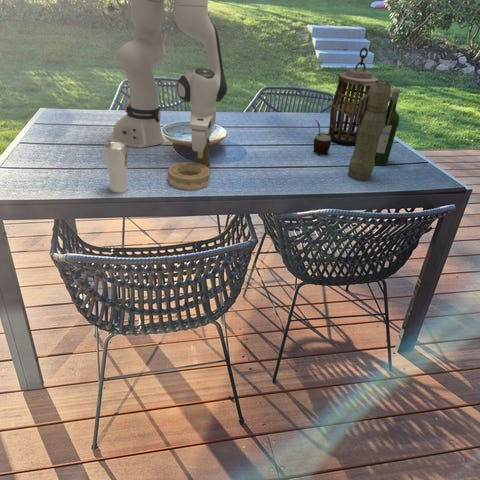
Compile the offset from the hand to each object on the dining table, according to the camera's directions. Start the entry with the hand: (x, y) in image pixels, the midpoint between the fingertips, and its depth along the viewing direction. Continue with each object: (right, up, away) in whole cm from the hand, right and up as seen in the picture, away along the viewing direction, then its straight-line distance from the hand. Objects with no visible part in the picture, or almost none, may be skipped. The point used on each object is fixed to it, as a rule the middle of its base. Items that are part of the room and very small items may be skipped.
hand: (202, 154), depth 161 cm
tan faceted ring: (-4, -11, -10) cm, 16 cm away
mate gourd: (+48, +5, +22) cm, 53 cm away
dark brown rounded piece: (0, -4, +2) cm, 4 cm away
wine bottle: (+72, 0, +19) cm, 74 cm away
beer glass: (-26, -15, -19) cm, 36 cm away
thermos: (+60, -8, +5) cm, 61 cm away
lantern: (+63, +14, +40) cm, 76 cm away
